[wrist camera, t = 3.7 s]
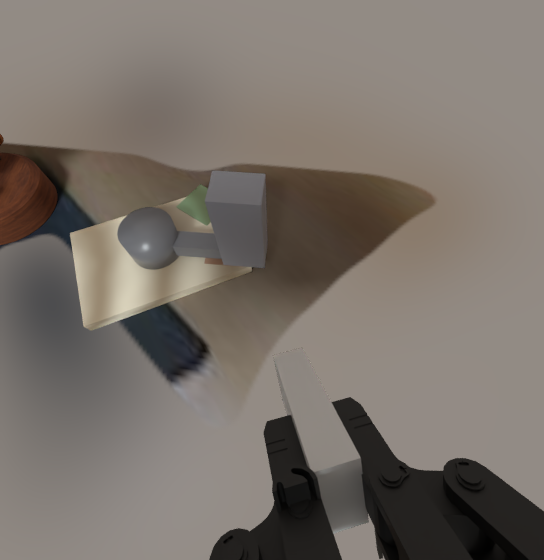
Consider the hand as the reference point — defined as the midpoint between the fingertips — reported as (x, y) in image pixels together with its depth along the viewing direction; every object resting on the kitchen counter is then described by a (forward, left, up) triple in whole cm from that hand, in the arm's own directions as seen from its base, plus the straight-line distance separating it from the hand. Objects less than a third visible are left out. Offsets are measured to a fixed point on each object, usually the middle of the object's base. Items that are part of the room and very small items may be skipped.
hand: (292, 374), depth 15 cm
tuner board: (-19, +1, -12) cm, 22 cm away
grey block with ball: (-16, +4, -10) cm, 19 cm away
